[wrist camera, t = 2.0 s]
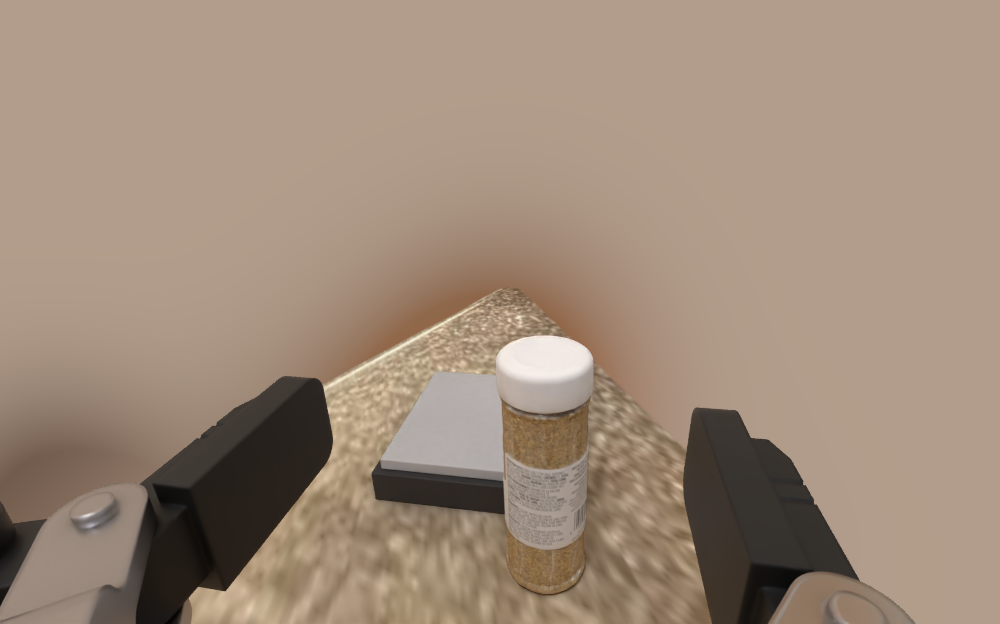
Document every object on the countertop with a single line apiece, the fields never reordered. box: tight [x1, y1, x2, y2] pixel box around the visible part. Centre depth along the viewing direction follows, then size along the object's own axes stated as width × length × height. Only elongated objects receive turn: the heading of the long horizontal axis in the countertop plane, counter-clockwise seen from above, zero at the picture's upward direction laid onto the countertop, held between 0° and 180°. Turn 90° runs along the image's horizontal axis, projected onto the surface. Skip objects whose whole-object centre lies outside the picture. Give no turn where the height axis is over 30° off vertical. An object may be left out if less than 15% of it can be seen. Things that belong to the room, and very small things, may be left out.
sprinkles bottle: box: [496, 336, 593, 594], centre depth 25 cm, size 5×5×14 cm
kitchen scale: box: [372, 371, 505, 514], centre depth 37 cm, size 13×13×3 cm
